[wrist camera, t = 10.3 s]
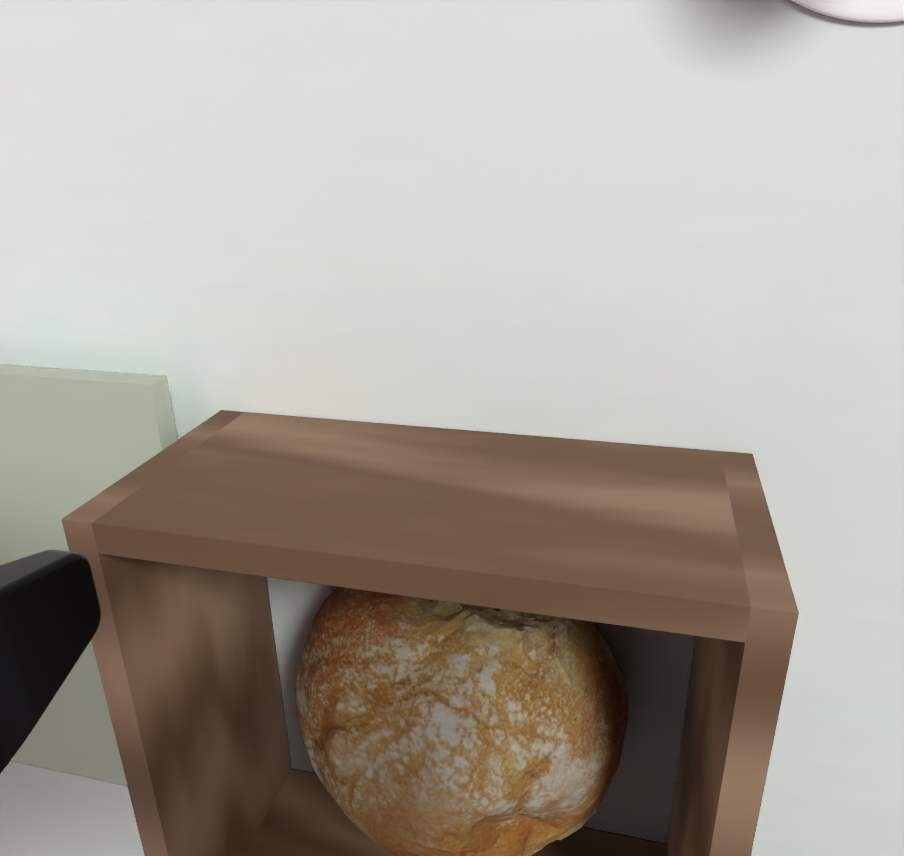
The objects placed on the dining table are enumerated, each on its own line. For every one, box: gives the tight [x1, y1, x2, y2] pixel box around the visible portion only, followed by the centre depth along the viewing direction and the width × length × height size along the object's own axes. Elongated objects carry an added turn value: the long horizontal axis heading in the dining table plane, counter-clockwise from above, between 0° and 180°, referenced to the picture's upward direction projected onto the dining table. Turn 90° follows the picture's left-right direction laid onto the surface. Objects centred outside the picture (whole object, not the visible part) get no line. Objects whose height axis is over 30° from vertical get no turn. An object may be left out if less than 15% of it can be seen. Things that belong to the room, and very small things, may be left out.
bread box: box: [61, 410, 799, 856], centre depth 21 cm, size 16×16×7 cm
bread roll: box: [295, 586, 628, 856], centre depth 23 cm, size 10×10×8 cm
